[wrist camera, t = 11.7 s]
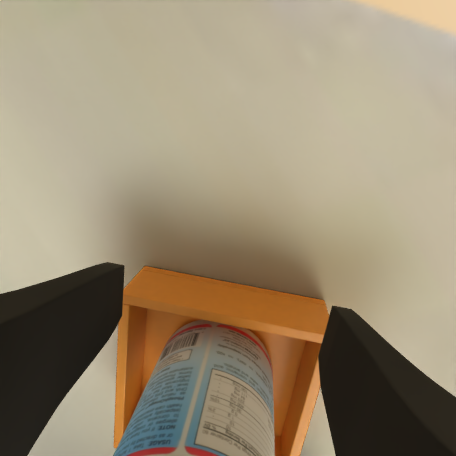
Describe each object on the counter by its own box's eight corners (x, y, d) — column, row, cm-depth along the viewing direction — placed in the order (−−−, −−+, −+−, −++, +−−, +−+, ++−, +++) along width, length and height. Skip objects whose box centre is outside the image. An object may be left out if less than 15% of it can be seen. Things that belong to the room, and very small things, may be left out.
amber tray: (287, 436, 19) (289, 490, 16) (135, 402, 20) (113, 448, 17) (324, 299, 16) (335, 336, 13) (144, 265, 17) (119, 293, 14)
